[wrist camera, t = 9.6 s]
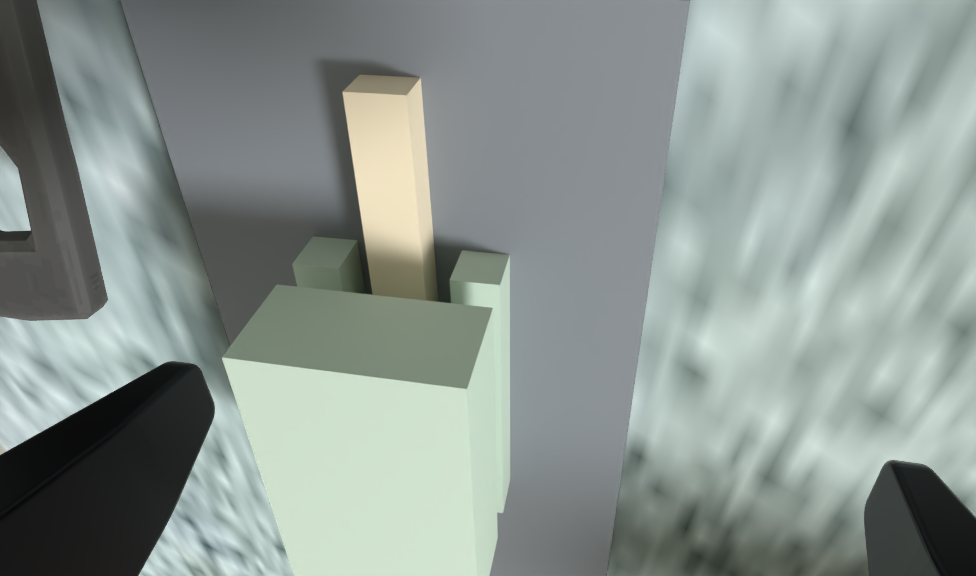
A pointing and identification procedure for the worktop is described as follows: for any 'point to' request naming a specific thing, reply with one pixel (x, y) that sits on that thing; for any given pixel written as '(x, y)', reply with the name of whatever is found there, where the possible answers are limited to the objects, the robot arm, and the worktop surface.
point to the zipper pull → (42, 184)
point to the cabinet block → (380, 416)
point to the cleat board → (445, 193)
